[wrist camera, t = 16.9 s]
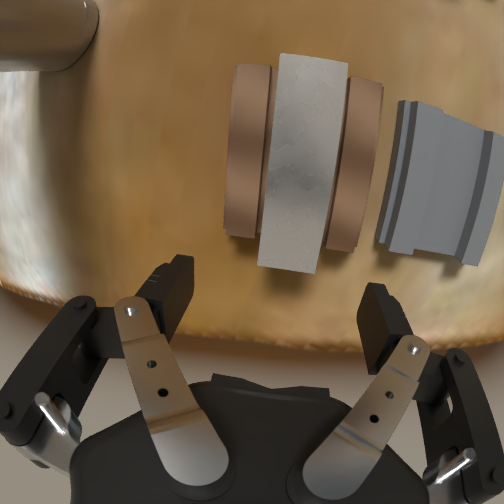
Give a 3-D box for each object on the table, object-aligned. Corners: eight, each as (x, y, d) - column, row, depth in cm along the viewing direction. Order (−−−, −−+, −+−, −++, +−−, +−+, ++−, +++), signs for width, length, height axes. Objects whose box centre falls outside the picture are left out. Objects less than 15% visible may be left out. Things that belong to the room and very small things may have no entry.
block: (312, 249, 23) (314, 273, 19) (263, 241, 23) (257, 265, 20) (338, 73, 17) (348, 63, 13) (283, 65, 17) (280, 53, 14)
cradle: (352, 237, 24) (359, 253, 21) (228, 220, 25) (219, 234, 22) (376, 89, 18) (388, 85, 15) (239, 70, 19) (230, 63, 16)
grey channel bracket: (467, 252, 23) (480, 267, 20) (374, 235, 24) (383, 250, 21) (495, 138, 17) (513, 142, 15) (398, 101, 18) (412, 99, 16)
